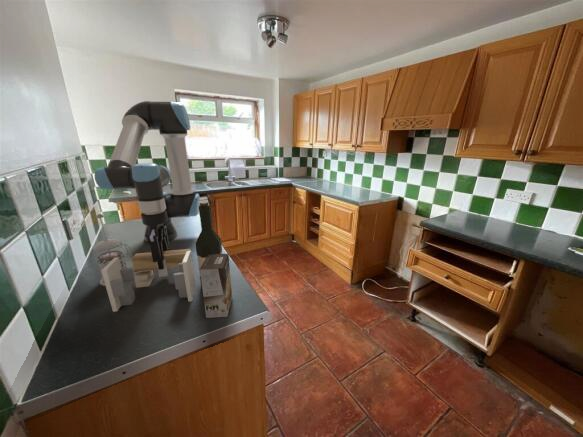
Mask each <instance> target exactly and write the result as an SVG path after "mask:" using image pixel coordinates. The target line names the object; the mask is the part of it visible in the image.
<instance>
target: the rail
mask: <svg viewBox="0 0 583 437" xmlns="http://www.w3.org/2000/svg"><path fill="white" fill-rule="evenodd" d="M187 251H191V248H185V249H184V248H183V249H173V250H171V251H163V255H164V259H165V261H166V266H167V268H171V269H175V268H179V266H178V264H179V263H182V262H183V259H184V257H185V254H186V252H187ZM131 263H132V268H133V273H134V272H136V273H138V271H148V270H153V271H156V270H157V271H158V267H157V263H156V262H153V258H152V254H151V251H149V252H139V253H135V255H133V257H132V258H131Z"/></svg>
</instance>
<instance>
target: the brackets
mask: <svg viewBox="0 0 583 437" xmlns="http://www.w3.org/2000/svg"><path fill="white" fill-rule="evenodd" d="M108 263H109V264H108ZM108 263H107V264H108V265H107V266H106V267H105V268H104V269H103V270H102V275H103V278H104V282H105V285H106V286H105V288H106V293H107V295H108V298H109V302H110V306H111V309H112V312H113V313H115V312H118V311H119V309H120V308H121V307H122V306H130V305H133V304H134V302H135V300H136V294H135V290H134V286H133V285H134V284H135V278H134V277H135V274H134V269H133V267H127V268H125V267H124V269H122V268H121V264H120V260H119V257H116V258H114V259H113V260H112V261H109V262H108ZM178 266H179V267H178V271H179V272H180V273H178V272H175V273H173V281H174V285H175V290H178V295H179V299H182V298H187V301H188V302H189V303H190V302H193V299H194V296H195V292H196V288H197V284H196V278H195V269H194V264H193V256H192V250H190V251H187V252H186V254H185V257H184V259H183V262H182V263H179V264H178ZM102 275H101V276H102Z"/></svg>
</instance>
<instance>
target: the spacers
mask: <svg viewBox="0 0 583 437" xmlns="http://www.w3.org/2000/svg"><path fill="white" fill-rule="evenodd" d="M177 273H180V272H179V270H178V271H177ZM134 278H135V282H134V284H135V287H136V288H138V289H139V288H144V287H150V285H151V284H152V281H153V280H154V278H155V274H154V270H148V271H138V272H136V274H135V275H134Z"/></svg>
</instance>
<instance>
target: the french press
mask: <svg viewBox="0 0 583 437" xmlns="http://www.w3.org/2000/svg"><path fill="white" fill-rule="evenodd" d="M102 218H104V215H103V214H102V213H98V214H97V215H96V219H100V223H101V227H102V231H103V234H104V238H105V240H101V241H99V242H97V243H96V244H95V245H93V247H92V249H93V250H95V251H98V252H99V251H100V252H102V251H106V252H103V253H100V254H99V255H98V256H97V259H98V260H97V263H98V268H99V271H100V275H101V279H100V281H99V285H101V286H103V287H106V285H105V282H104V278H103V275H102V270H103V269H104V268H105V267H106V266H107V265H108V264H109V263H110V262H111V261H112V260H113V259H114V258H116V257H119V260H120V264H121V268H122V269H124V268H128V267H127V262H128V261H129V259H130V257H131V248H130V246H129V245H128V244H126V243H122V241H121V240H119V239H116V238H110V239H109V238H108V239H107V237H106V233H105V229H104V225H103V220H102ZM122 246H124V247H125V249H126V255H124V254H123V252H122V251H121V250H112V249H115V248H122ZM110 250H111V251H110ZM128 250H129V252H128ZM128 253H129V255H128ZM127 257H128V258H127Z"/></svg>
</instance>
